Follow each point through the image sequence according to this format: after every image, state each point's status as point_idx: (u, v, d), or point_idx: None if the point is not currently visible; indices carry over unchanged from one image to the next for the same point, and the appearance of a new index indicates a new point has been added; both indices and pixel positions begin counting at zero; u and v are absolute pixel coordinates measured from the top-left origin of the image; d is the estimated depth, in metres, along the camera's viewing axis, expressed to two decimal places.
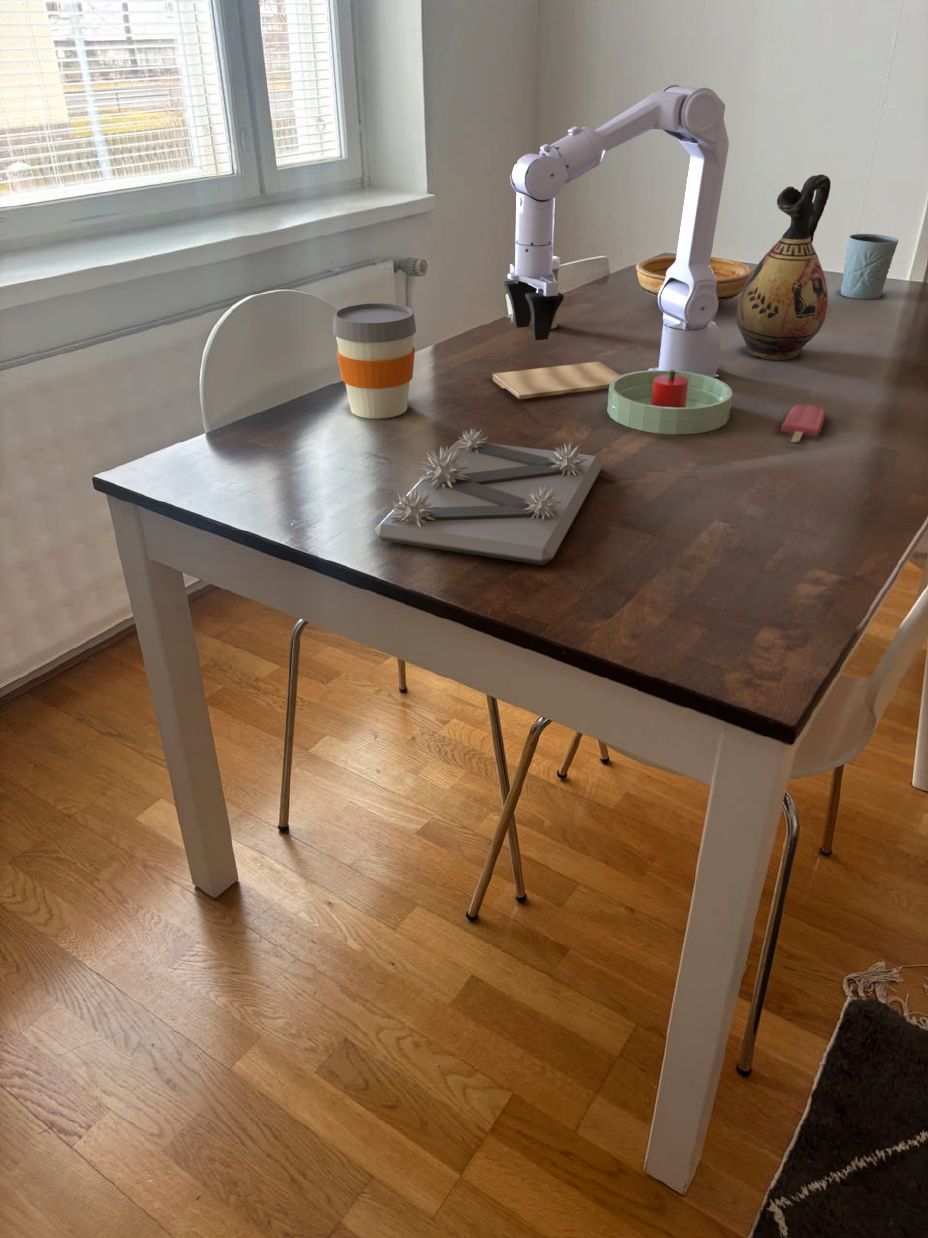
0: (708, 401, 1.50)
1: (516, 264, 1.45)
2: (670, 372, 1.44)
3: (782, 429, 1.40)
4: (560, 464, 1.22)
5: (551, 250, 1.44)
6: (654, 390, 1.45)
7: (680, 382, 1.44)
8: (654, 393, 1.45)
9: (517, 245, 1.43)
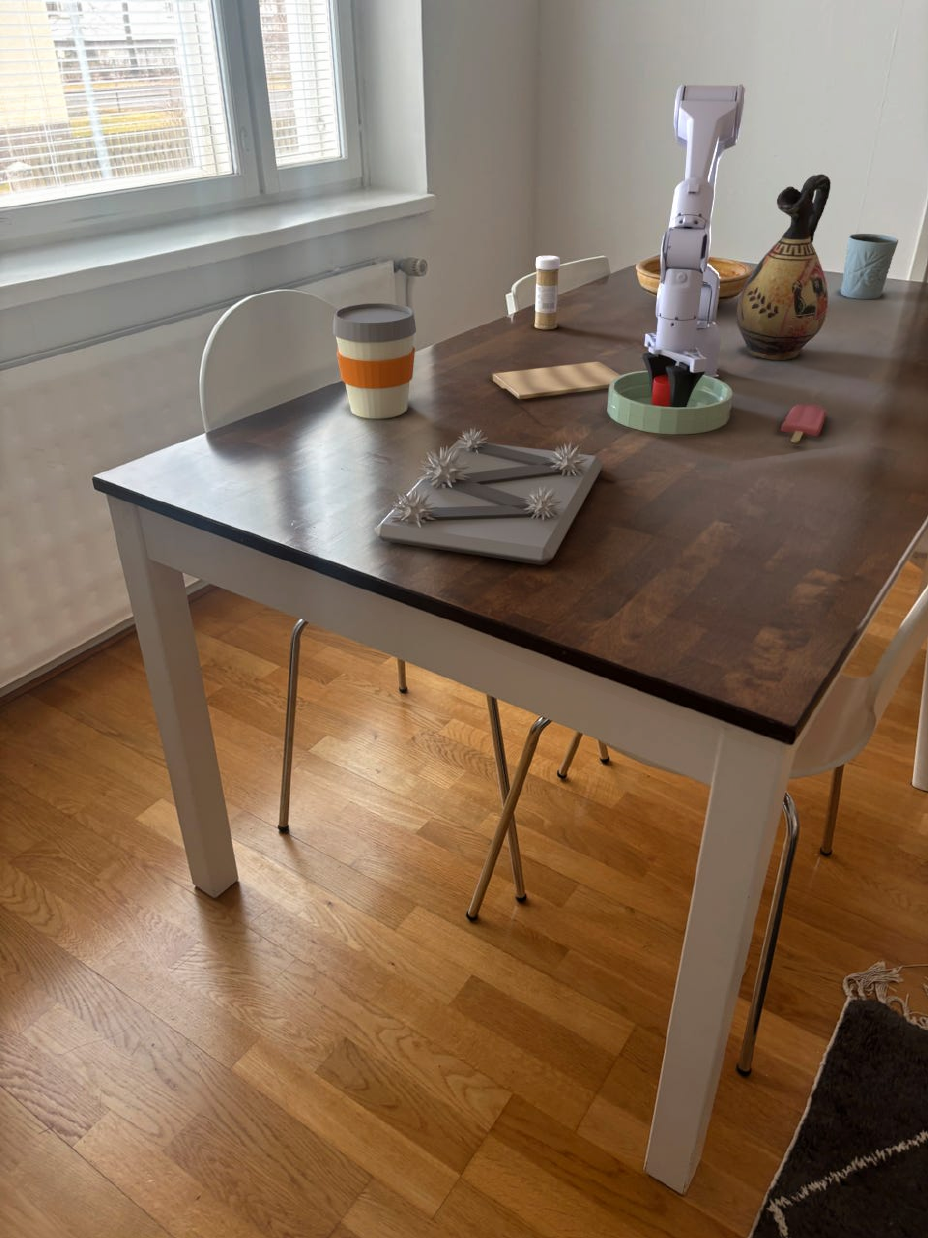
0: (708, 401, 1.50)
1: (658, 337, 1.40)
2: None
3: (782, 429, 1.40)
4: (560, 464, 1.22)
5: (696, 324, 1.39)
6: (654, 389, 1.45)
7: None
8: (654, 393, 1.45)
9: (661, 319, 1.39)
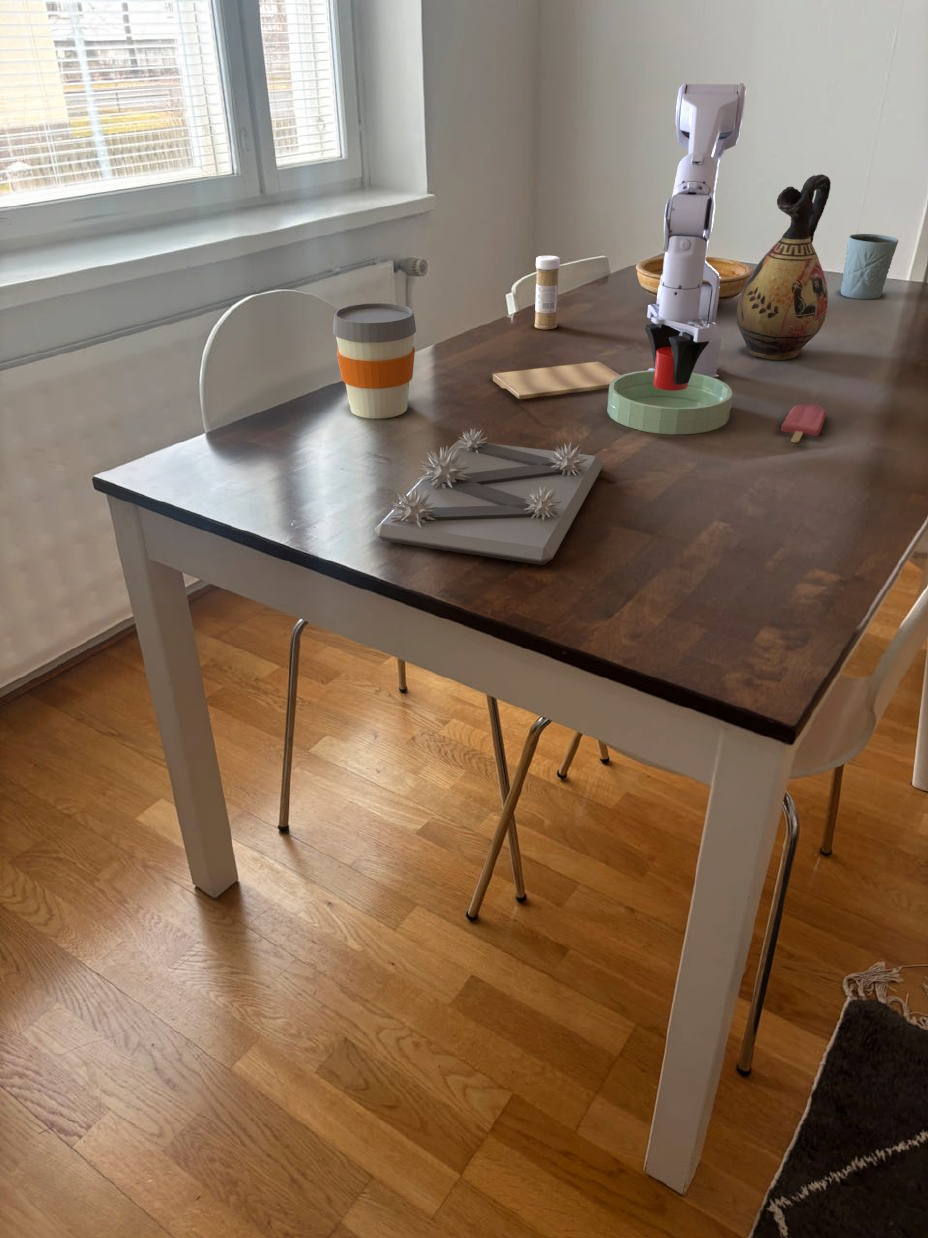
0: (708, 401, 1.50)
1: (661, 307, 1.38)
2: None
3: (782, 429, 1.40)
4: (560, 464, 1.22)
5: (700, 293, 1.37)
6: (657, 361, 1.43)
7: None
8: (657, 365, 1.43)
9: (664, 288, 1.36)
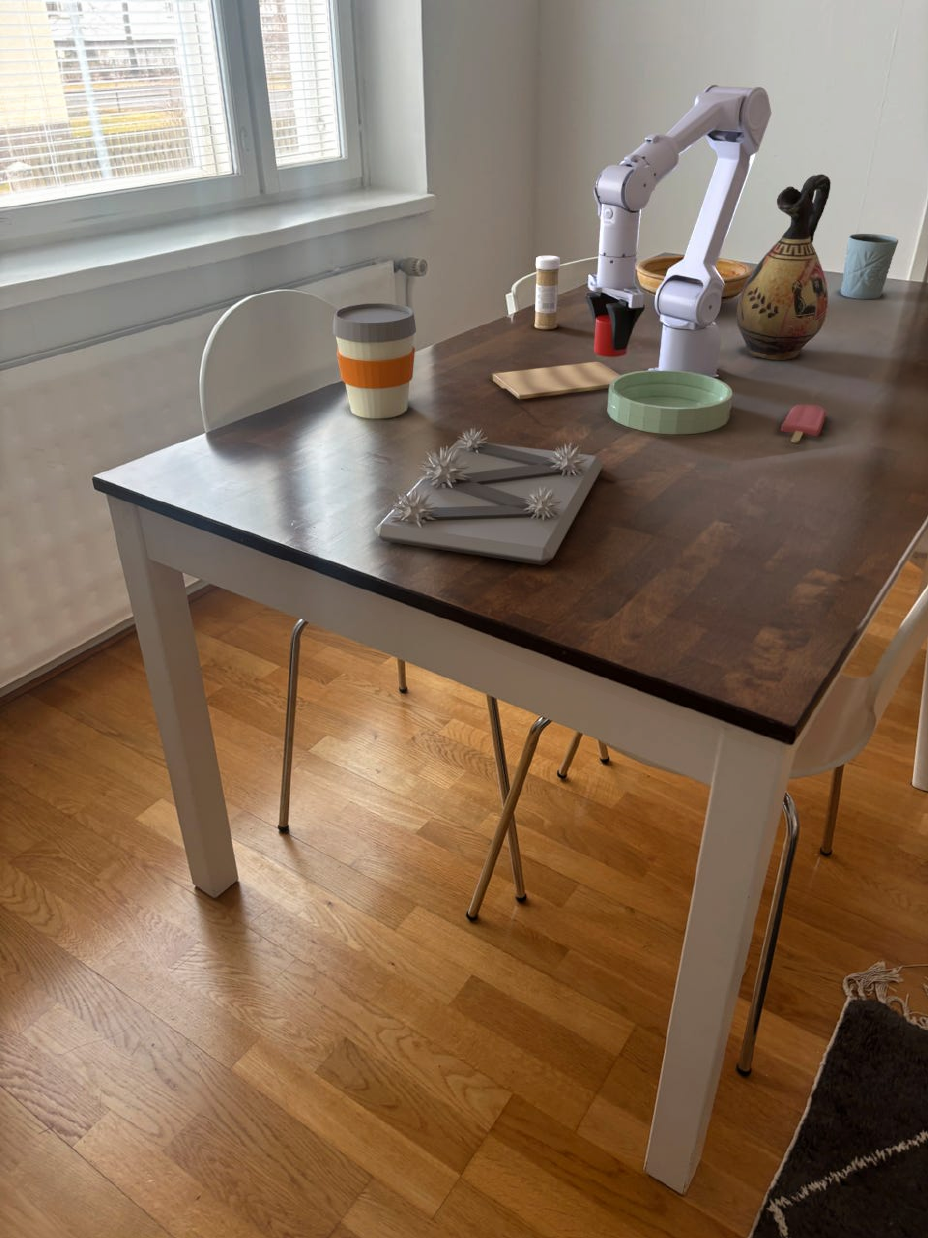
0: (708, 401, 1.50)
1: (599, 275, 1.44)
2: None
3: (782, 429, 1.40)
4: (560, 464, 1.22)
5: (635, 261, 1.43)
6: (596, 328, 1.48)
7: None
8: (596, 332, 1.49)
9: (601, 256, 1.42)
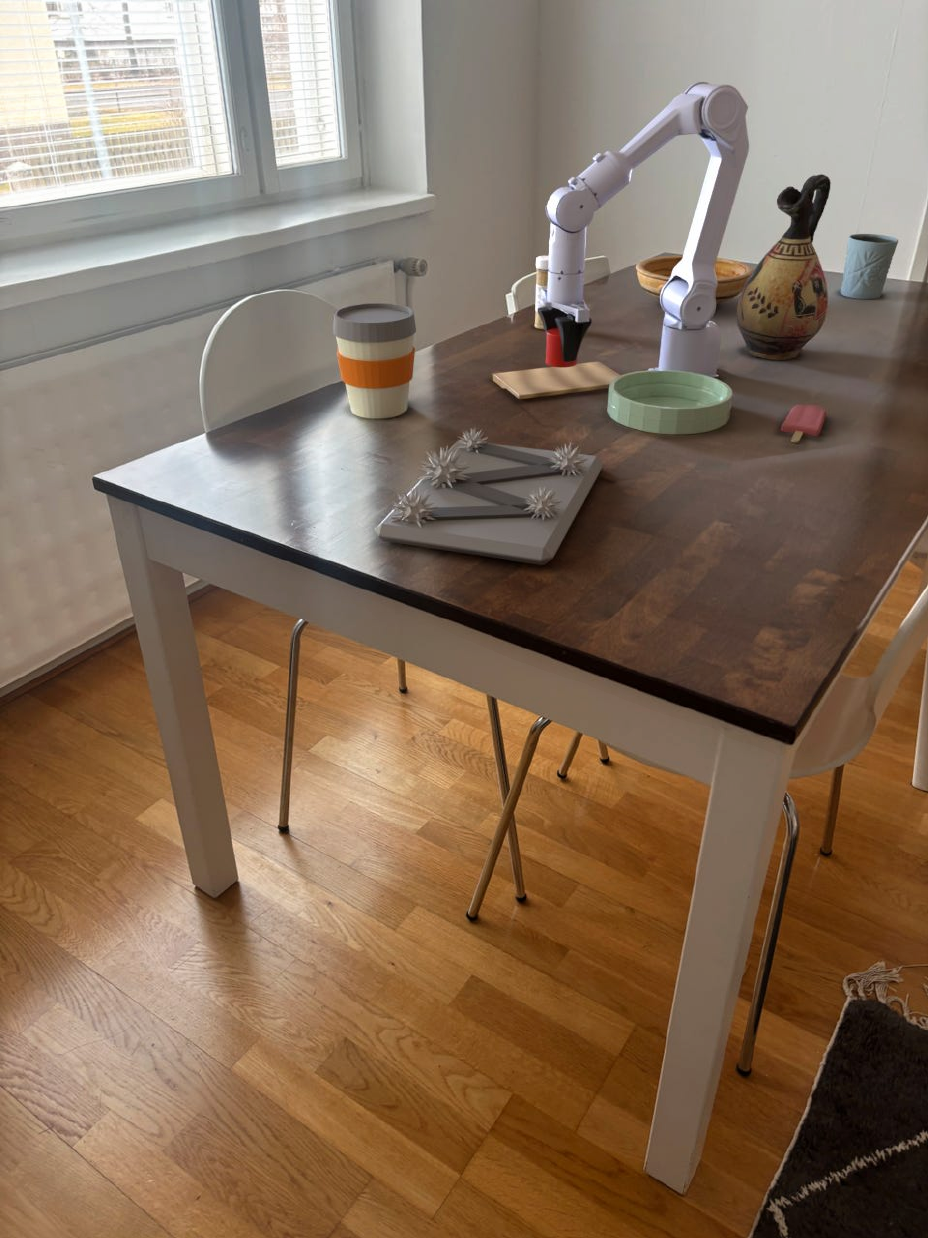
0: (708, 401, 1.50)
1: (548, 291, 1.52)
2: None
3: (782, 429, 1.40)
4: (560, 464, 1.22)
5: (582, 278, 1.51)
6: (547, 340, 1.57)
7: None
8: (547, 344, 1.57)
9: (550, 273, 1.51)
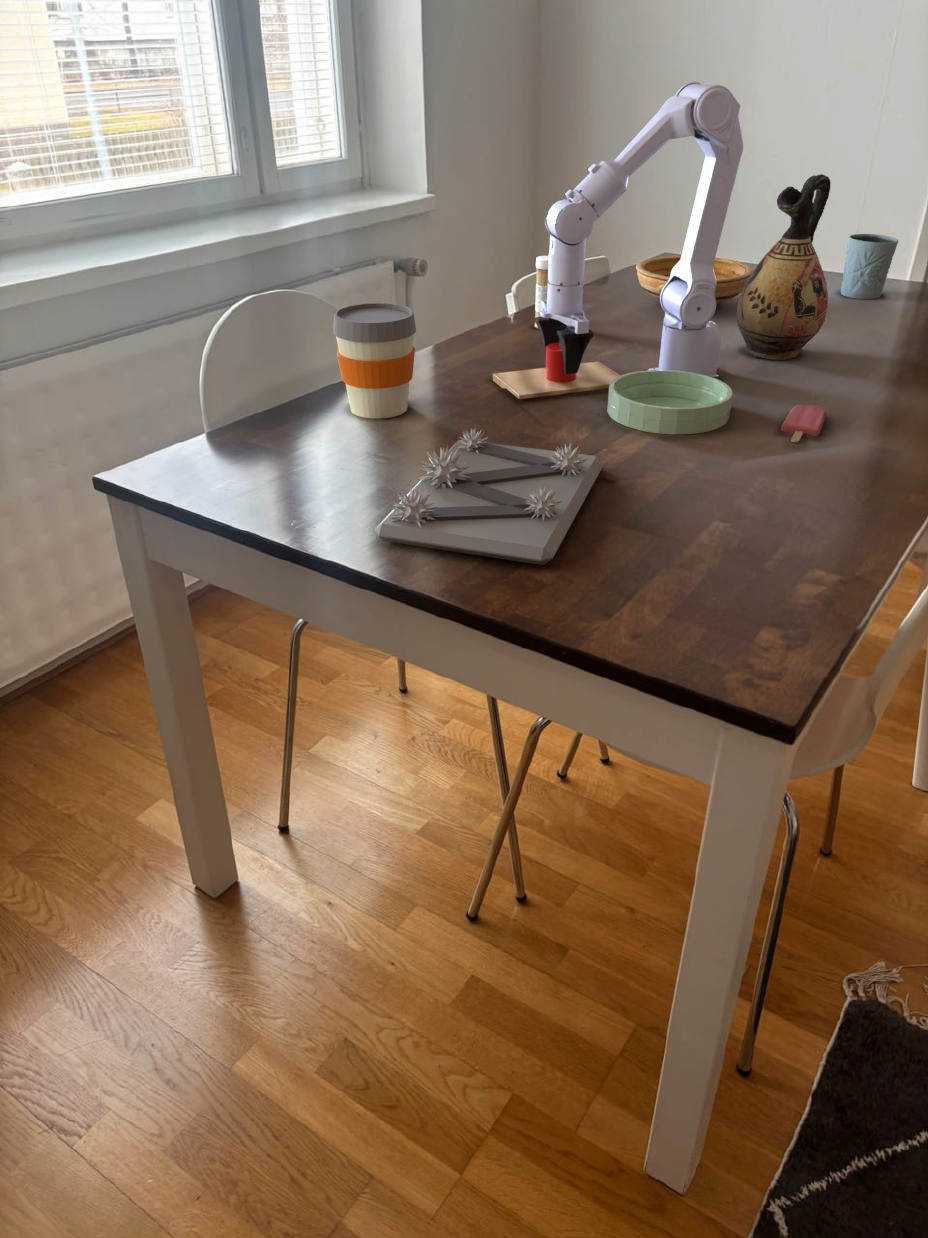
0: (708, 401, 1.50)
1: (548, 302, 1.53)
2: None
3: (782, 429, 1.40)
4: (560, 464, 1.22)
5: (581, 290, 1.52)
6: (546, 356, 1.58)
7: None
8: (547, 359, 1.58)
9: (549, 285, 1.52)
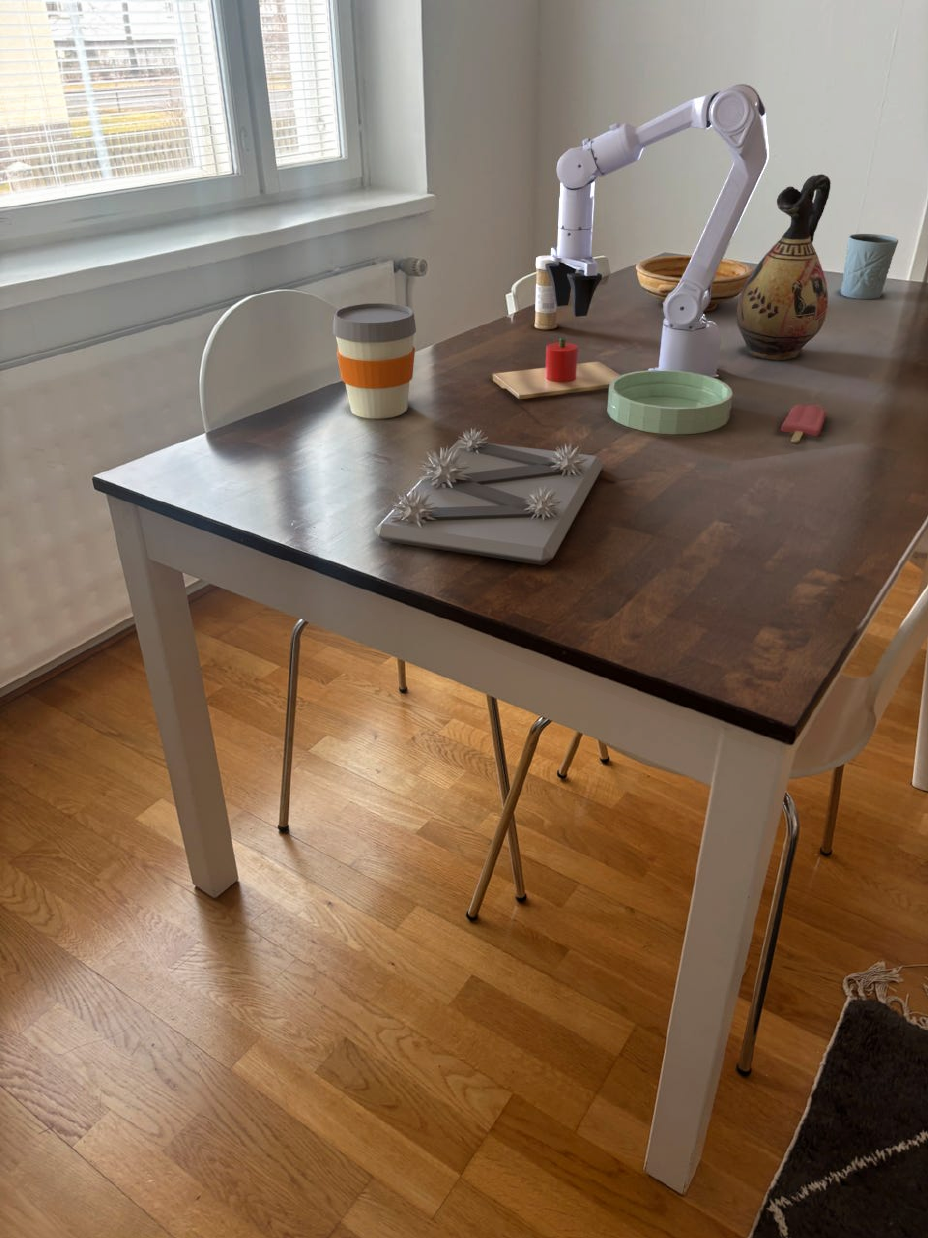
0: (708, 401, 1.50)
1: (558, 247, 1.60)
2: (560, 339, 1.57)
3: (782, 429, 1.40)
4: (560, 464, 1.22)
5: (591, 234, 1.58)
6: (546, 356, 1.58)
7: (569, 348, 1.57)
8: (547, 359, 1.58)
9: (560, 229, 1.58)
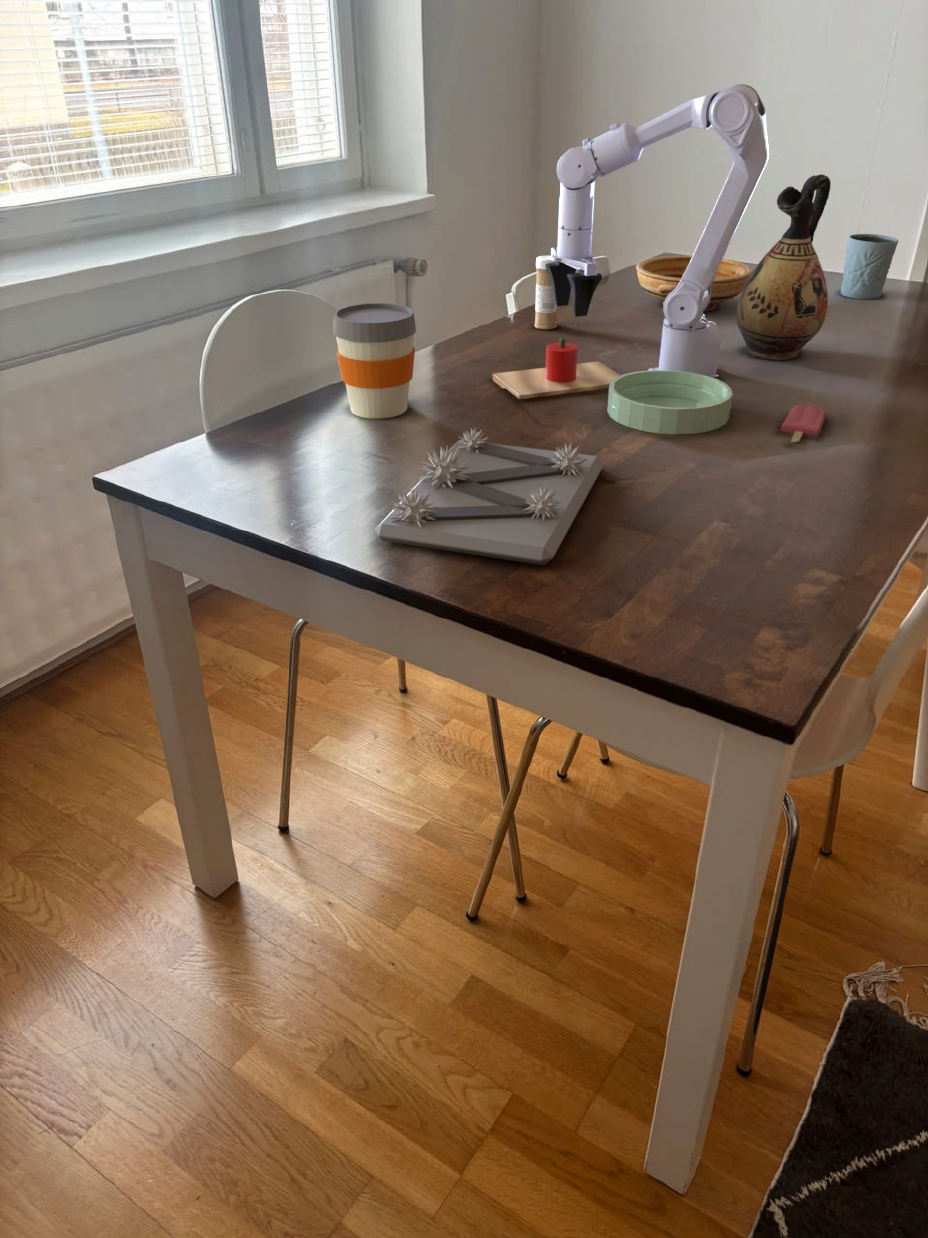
0: (708, 401, 1.50)
1: (558, 247, 1.60)
2: (560, 339, 1.57)
3: (782, 429, 1.40)
4: (560, 464, 1.22)
5: (591, 234, 1.58)
6: (546, 356, 1.58)
7: (569, 348, 1.57)
8: (547, 359, 1.58)
9: (560, 229, 1.58)
